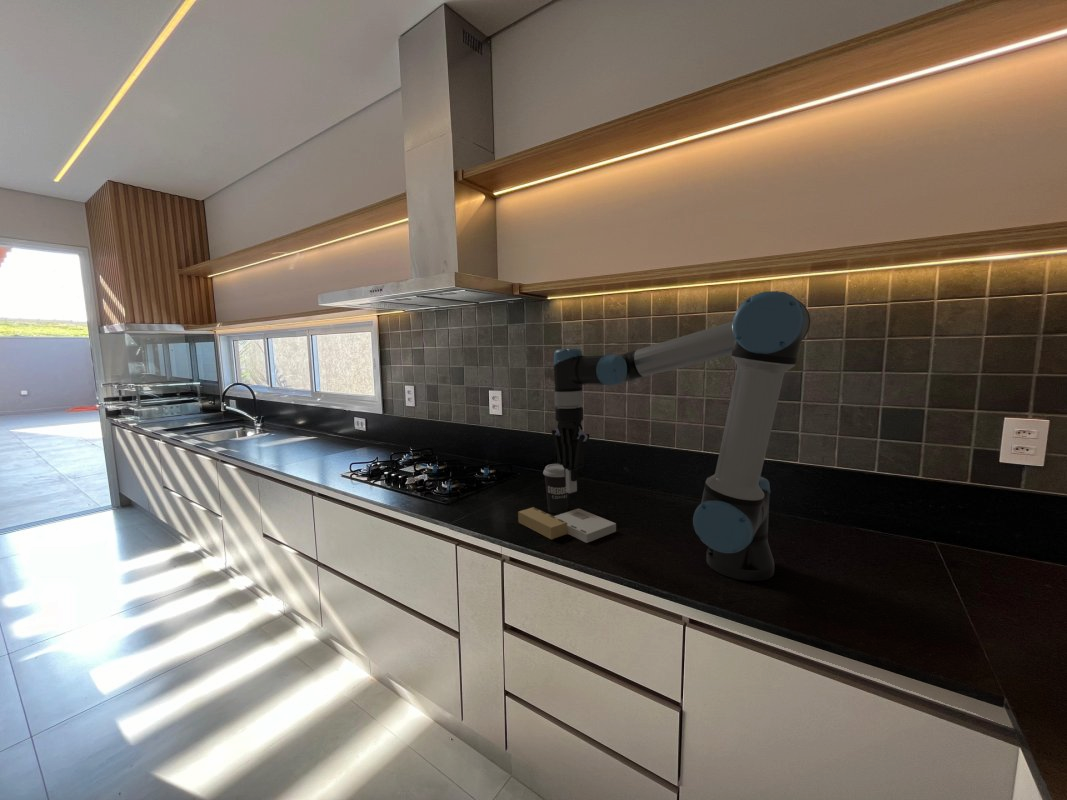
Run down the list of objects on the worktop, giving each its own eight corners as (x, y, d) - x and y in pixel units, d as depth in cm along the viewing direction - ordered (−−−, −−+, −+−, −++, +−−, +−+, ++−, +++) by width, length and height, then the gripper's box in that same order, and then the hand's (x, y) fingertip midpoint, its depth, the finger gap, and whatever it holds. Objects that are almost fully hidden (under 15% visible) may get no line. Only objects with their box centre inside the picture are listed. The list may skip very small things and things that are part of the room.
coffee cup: (538, 512, 144) (538, 468, 143) (551, 503, 153) (550, 462, 151) (565, 517, 140) (564, 472, 138) (576, 507, 148) (576, 465, 147)
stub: (567, 533, 127) (566, 521, 127) (551, 539, 124) (551, 527, 123) (533, 517, 140) (533, 506, 139) (518, 522, 136) (518, 511, 136)
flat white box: (615, 531, 129) (616, 522, 128) (586, 543, 121) (586, 533, 121) (578, 515, 141) (578, 507, 141) (550, 525, 134) (550, 516, 134)
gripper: (596, 406, 114) (598, 494, 117) (563, 403, 125) (565, 483, 127) (575, 409, 110) (577, 500, 112) (543, 406, 120) (546, 489, 123)
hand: (571, 491), depth 120 cm, fingers closed
